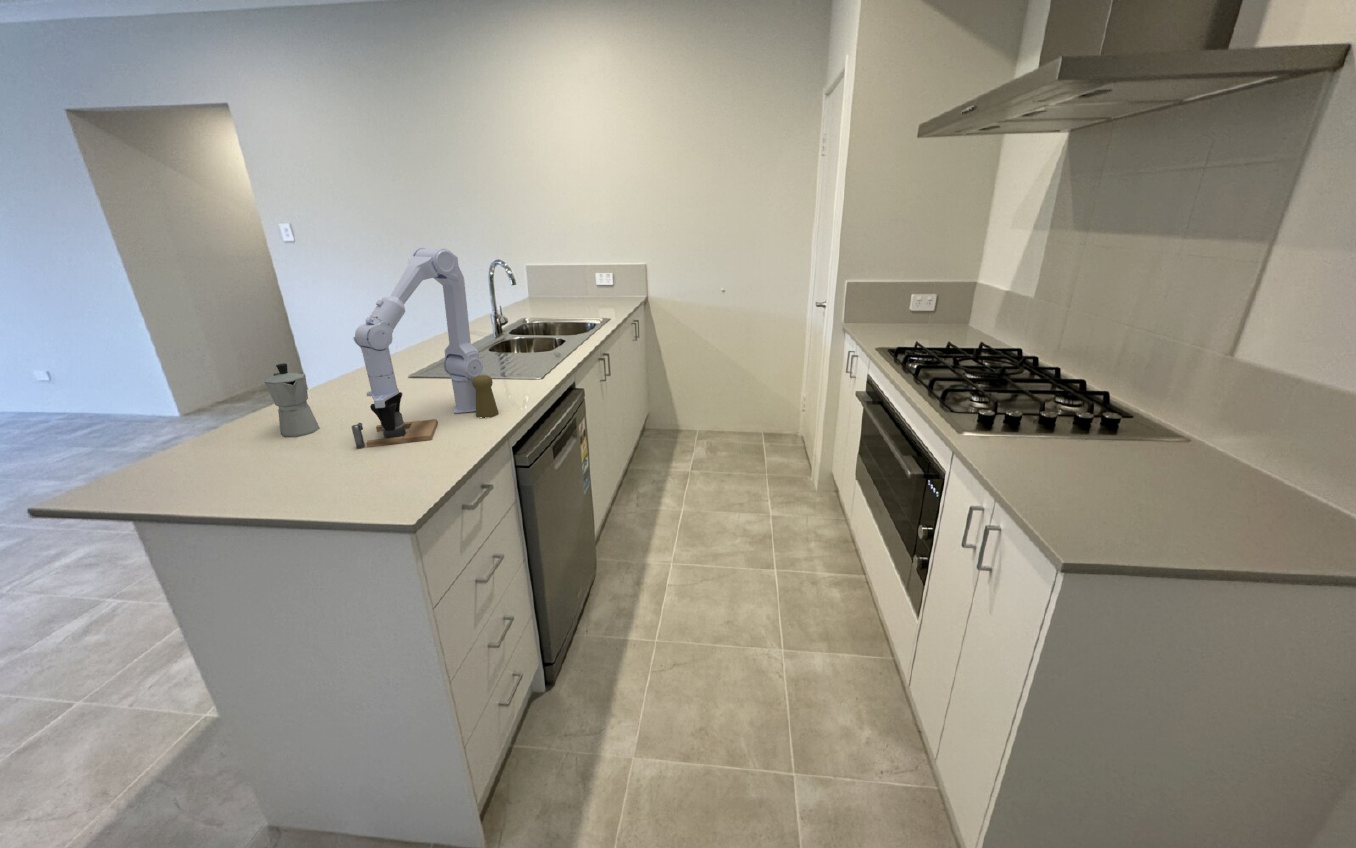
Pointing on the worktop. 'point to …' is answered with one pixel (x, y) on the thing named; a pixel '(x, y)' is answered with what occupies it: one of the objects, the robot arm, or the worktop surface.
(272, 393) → the coffee maker
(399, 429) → the grey flanged cylinder
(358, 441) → the hook
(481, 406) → the olive pawn
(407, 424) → the brown wooden u-shaped bracket
